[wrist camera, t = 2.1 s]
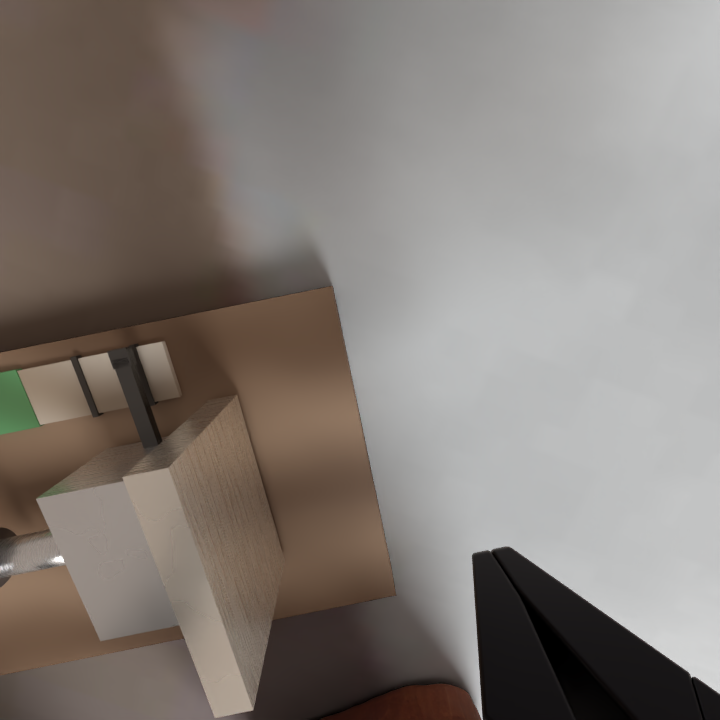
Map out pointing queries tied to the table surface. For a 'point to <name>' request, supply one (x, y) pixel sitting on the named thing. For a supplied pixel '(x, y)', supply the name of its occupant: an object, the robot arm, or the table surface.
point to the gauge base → (171, 409)
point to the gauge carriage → (169, 540)
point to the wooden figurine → (415, 705)
